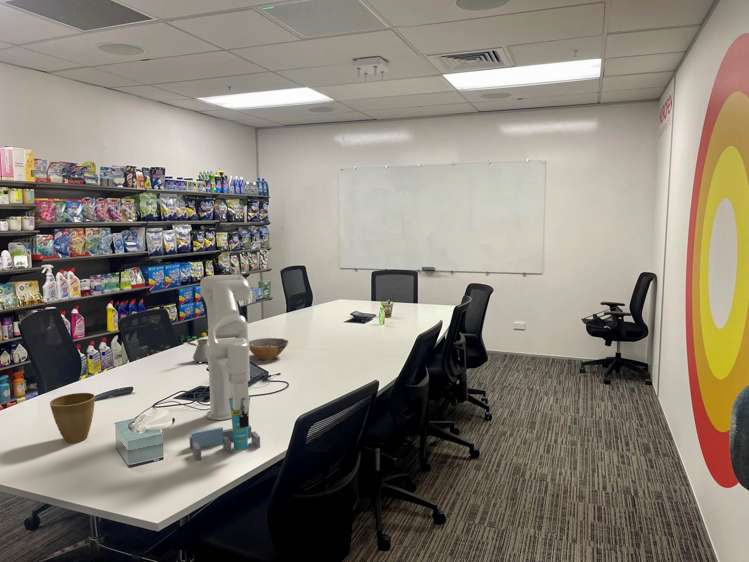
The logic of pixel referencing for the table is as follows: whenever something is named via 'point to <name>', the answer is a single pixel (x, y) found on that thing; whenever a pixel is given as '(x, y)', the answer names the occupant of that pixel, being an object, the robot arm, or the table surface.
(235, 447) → the tube
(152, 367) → the table surface
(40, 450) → the table surface
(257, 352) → the bowl
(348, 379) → the table surface
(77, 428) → the plant pot
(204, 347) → the coffee pot
